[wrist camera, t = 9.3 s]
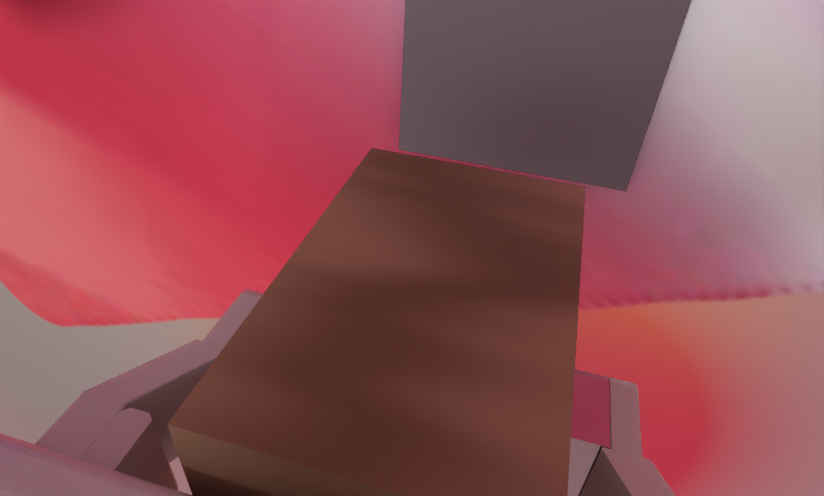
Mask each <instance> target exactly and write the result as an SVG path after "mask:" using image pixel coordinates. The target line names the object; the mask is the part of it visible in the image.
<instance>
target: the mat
mask: <svg viewBox="0 0 824 496" xmlns="http://www.w3.org/2000/svg"><path fill="white" fill-rule="evenodd" d="M690 3H691V0H406V4H405V26H404V48H403V70H402V93H401V115H400V137H399V150H405V151H410V152H415V153H421V154H426V155H432V156H437V157H443V158H448V159H454V160H459V161H464V162H470V163H475V164H481V165H486V166H492V167H497V168H503V169H508V170H513V171H519V172H524V173H530V174H535V175H541V176H546V177H552V178H557V179H562V180H568V181H573V182H579V183H584V184H590V185H595V186H601V187H606V188H611V189H617V190H622V191H626V190H627V187H628V184H629V181H630V178H631V175H632V172H633V169H634V166H635V163H636V161H637V158H638V155H639V152H640V149H641V146H642V143H643V140H644V137H645V134H646V131H647V128H648V125H649V123H650V120H651V117H652V114H653V111H654V108H655V105H656V102H657V99H658V96H659V93H660V90H661V87H662V84H663V82H664V79H665V76H666V73H667V70H668V67H669V64H670V61H671V58H672V55H673V52H674V49H675V46H676V44H677V41H678V38H679V35H680V32H681V29H682V26H683V23H684V20H685V17H686V14H687V11H688V8H689V6H690Z"/></svg>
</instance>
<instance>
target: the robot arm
mask: <svg viewBox="0 0 824 496" xmlns="http://www.w3.org/2000/svg"><path fill="white" fill-rule="evenodd" d="M262 295H263V293H259V292H256V291H252V290H248V289H247V290H246V291H244V292H242V293H241V294H240V295H239V296H238V297H237V299H236V300H235V301H234V302H233V304H232V305H231V306H230V307H229V309H228V310H227V311H226V312H225V314H224V315H223V316H222V317H221V319H220V320H219V321H218V322H217V324H216V325H215V326H214V327H213V329H212V330H211V331H210V333H209V334H208V335H207V336H206V337H205V339H204V340H203V341H199V340H195V341H192V342H191V343H188V344H186V345H184V346H182V347H180V348H177V349H175V350H173V351H171V352H169V353H166V354H164V355H162V356H160V357H158V358H156V359H153V360H151V361H149V362H147V363H145V364H143V365H141V366H138V367H136V368H134V369H132V370H130V371H128V372H126V373H123V374H121V375H119V376H117V377H115V378H112V379H110V380H108V381H106V382H104V383H102V384H99V385H97V386H95V387H93V388H91V389H88V390H87V391H84V392H83V393H82V394H81V395H80V397H79V398H78V399H77V400H76V401H75V402H74V403H73V404H72V405H71V406H70V407H69V408H68V410H66V411H65V413H64V414H63V415H62V416H61V417H60V418H59V419H58V420H57V421H56V422H55V423H54V424H53V425H52V426H51V428H49V430H48V431H47V432H46V433H45V434H44V435H43V436H42V437H41V438H40V439H39V440H38V441H37V443H36V444H31V443H28V442H25V441H22V440H19V439H16V438H13V437H9V436H7V435H3V434H0V496H193V495H189V494H186V493H183V492H180V491H178V485H177V481H176V479H175V476H174V474H173V471H172V469H171V466H170V464H169V463H170V462H171V461H172V460H174V459H175V458H177V457H178V453H177V450H176V448H175V445H174V442H173V439H172V437H171V434H170V431H169V428H168V426H167V424H168V422H169V421H170V420H171V418H172V417H173V416H174V414H175V413H176V412H177V410H178V409H179V407H180V406H181V405H182V403H183V402H184V401H185V399H186V398H187V397H188V395H189V394H190V393H191V391H192V390H193V389H194V387H195V386H196V385H197V383H198V382H199V380H200V379H201V378H202V376H203V375H204V374H205V372H206V371H207V370H208V368H209V367H210V366H211V364H212V363H213V362H214V360H215V359H216V358H217V356H218V355H219V353H220V352H221V351H222V349H223V348H224V347H225V345H226V344H227V343H228V341H229V340H230V339H231V337H232V336H233V335H234V333H235V332H236V331H237V329H238V328H239V326H240V325H241V324H242V322H243V321H244V320H245V318H246V317H247V316H248V314H249V313H250V312H251V310H252V309H253V308H254V306H255V305H256V304H257V302H258V301H259V299H260V298H261V297H262ZM567 496H675V495H674V494H673V492H672V490H671V489H670V487H669V486H668V484H667V483H666V482H665V480H664V479H663V477H662V476H661V474H660V473H659V471H658V470H657V469H656V467H655V466H654V464H653V463H652V462H651V460H648V459H645V458H642V445H641V430H640V415H639V398H638V388H637V386H636V384H635V383H631V382H627V381H623V380H618V379H614V378H610V377H608V378H607V377H606V376H602V375H598V374H593V373H589V372H585V371H580V370H576V369H575V374H574V391H573V408H572V426H571V443H570V460H569V478H568V495H567Z"/></svg>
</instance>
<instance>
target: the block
mask: <svg viewBox="0 0 824 496" xmlns="http://www.w3.org/2000/svg"><path fill="white" fill-rule="evenodd" d="M584 201H585V187H582V186H576V185H571V184H565V183H560V182H554V181H549V180H543V179H538V178H533V177H527V176H522V175H516V174H511V173H505V172H500V171H494V170H489V169H483V168H478V167H473V166H467V165H462V164H456V163H451V162H445V161H440V160H434V159H429V158H423V157H418V156H413V155H407V154H402V153H396V152H391V151H385V150H380V149H374V148H371V150H370V151H369V152H368V154H367V155H366V156H365V158H364V159H363V160H362V162H361V163H360V164H359V166H358V167H357V168H356V170H355V171H354V173H353V174H352V175H351V177H350V178H349V179H348V181H347V182H346V183H345V185H344V186H343V187H342V189H341V190H340V191H339V193H338V194H337V196H336V197H335V198H334V200H333V201H332V202H331V204H330V205H329V206H328V208H327V209H326V210H325V212H324V213H323V214H322V216H321V217H320V218H319V220H318V221H317V223H316V224H315V225H314V227H313V228H312V229H311V231H310V232H309V233H308V235H307V236H306V237H305V239H304V240H303V241H302V243H301V244H300V245H299V247H298V248H297V250H296V251H295V252H294V254H293V255H292V256H291V258H290V259H289V260H288V262H287V263H286V264H285V266H284V267H283V268H282V270H281V271H280V272H279V274H278V275H277V277H276V278H275V279H274V281H273V282H272V283H271V285H270V286H269V287H268V289H267V290H266V291H265V293H264V294H263V295H262V297H261V298H260V299H259V301H258V302H257V304H256V305H255V306H254V308H253V309H252V310H251V312H250V313H249V314H248V316H247V317H246V318H245V320H244V321H243V322H242V324H241V325H240V326H239V328H238V329H237V331H236V332H235V333H234V335H233V336H232V337H231V339H230V340H229V341H228V343H227V344H226V345H225V347H224V348H223V349H222V351H221V352H220V353H219V355H218V356H217V358H216V359H215V360H214V362H213V363H212V364H211V366H210V367H209V368H208V370H207V371H206V372H205V374H204V375H203V376H202V378H201V379H200V380H199V382H198V383H197V385H196V386H195V387H194V389H193V390H192V391H191V393H190V394H189V395H188V397H187V398H186V399H185V401H184V402H183V403H182V405H181V406H180V407H179V409H178V410H177V412H176V413H175V414H174V416H173V417H172V418H171V420H170V421H169V422H168V424H167V426H168V428H169V431H170V434H171V437H172V439H173V442H174V445H175V448H176V450H177V453H178V456H179V459H180V461H181V464H182V467H183V470H184V472H185V475H186V478H187V481H188V483H189V486H190V489H191V492H192V495H193V496H567V495H568V478H569V460H570V443H571V426H572V408H573V391H574V374H575V357H576V339H577V322H578V305H579V287H580V270H581V253H582V235H583V218H584Z"/></svg>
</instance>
